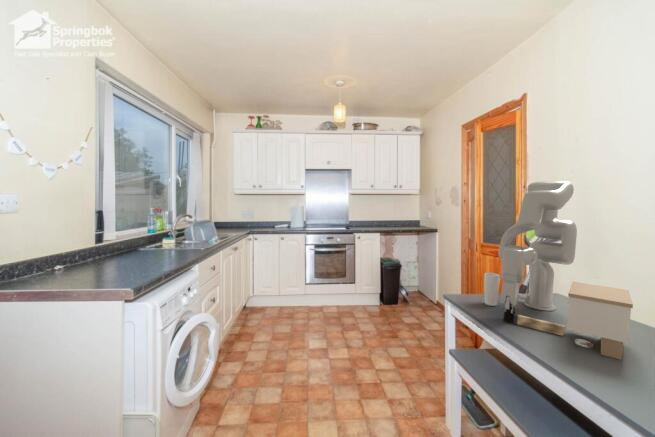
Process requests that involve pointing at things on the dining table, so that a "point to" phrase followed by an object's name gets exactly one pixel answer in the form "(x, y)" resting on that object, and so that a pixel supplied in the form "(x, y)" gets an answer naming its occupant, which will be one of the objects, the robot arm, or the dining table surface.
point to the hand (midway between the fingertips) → (509, 320)
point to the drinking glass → (491, 288)
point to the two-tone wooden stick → (538, 324)
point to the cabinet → (601, 315)
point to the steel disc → (583, 343)
